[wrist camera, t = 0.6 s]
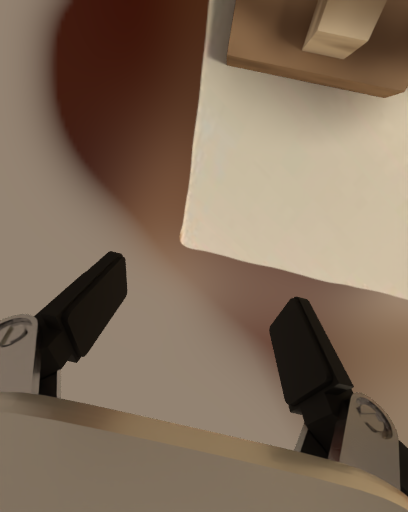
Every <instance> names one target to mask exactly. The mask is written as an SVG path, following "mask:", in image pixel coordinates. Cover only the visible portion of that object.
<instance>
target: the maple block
mask: <svg viewBox="0 0 408 512" xmlns="http://www.w3.org/2000/svg"><path fill="white" fill-rule="evenodd" d="M386 1H387V0H318V2H317V5H316V8H315V11H314V14H313V17H312V21H311V24H310V27H309V30H308V33H307V36H306V39H305V42H304V45H303V48H302V51H305V52H310V53H315V54H320V55H325V56H329V57H334V58H339V59H345V58H346V57H348V56H349V55H350V54H352V53H353V52H354V51H356V50H357V49H358V48H360V47H361V46H362V45H364V44H365V43H366V42H368V40H369V38H370V36H371V34H372V31H373V29H374V27H375V25H376V23H377V21H378V19H379V16H380V14H381V12H382V10H383V8H384V6H385V3H386Z"/></svg>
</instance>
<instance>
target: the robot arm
mask: <svg viewBox="0 0 408 512" xmlns="http://www.w3.org/2000/svg"><path fill="white" fill-rule="evenodd" d="M126 295H127V279H126V263H125V258H124V257H123V256H122V254H120V253H116V252H112V251H110V252H108V253H107V254H106V255H105V256H103V257H102V258H101V259H100V260H99V261H98V262H97V263H96V264H94V265H93V266H92V267H91V268H90V269H89V270H88V271H86V272H85V273H83V274H82V275H81V276H80V277H79V278H77V279H76V280H75V281H74V282H73V283H72V284H71V285H69V286H68V287H67V288H66V289H65V290H64V291H63V292H61V293H60V294H59V295H58V296H57V297H56V298H55V299H53V300H52V301H51V302H50V303H49V304H48V305H47V306H46V307H44V308H43V309H42V310H41V311H40V312H39V313H38V314H36V315H35V316H31V315H27V314H26V315H25V314H20V315H14V316H11V317H8V318H5V319H2V320H0V512H408V448H407V447H406V446H405V445H404V444H403V443H402V442H400V441H399V440H398V434H397V430H396V429H395V426H394V424H393V422H392V421H391V419H390V417H389V416H388V414H387V413H386V412H385V411H384V410H383V409H382V407H381V406H380V405H379V404H377V403H376V402H375V401H374V400H373V399H371V398H370V397H368V396H367V395H365V394H362V393H358V392H356V393H353V392H352V389H351V388H353V387H354V386H353V384H352V382H351V380H350V379H349V377H348V375H347V373H346V371H345V370H344V367H343V365H342V363H341V361H340V360H339V358H338V356H337V354H336V352H335V350H334V348H333V346H332V344H331V343H330V340H329V339H328V337H327V335H326V333H325V331H324V329H323V327H322V325H321V323H320V321H319V320H318V318H317V316H316V314H315V312H314V310H313V308H312V306H311V304H310V302H309V301H308V300H307V299H304V298H300V297H294V298H292V299H290V300H289V302H288V303H287V304H286V306H285V307H284V308H283V310H282V311H281V312H280V314H279V315H278V316H277V318H276V319H275V321H274V322H273V323H272V324H271V326H270V330H269V331H270V336H271V341H272V345H273V349H274V354H275V358H276V363H277V367H278V372H279V376H280V381H281V385H282V389H283V394H284V398H285V401H286V403H287V404H288V405H289V409H290V412H291V413H296V414H300V415H303V419H304V425H303V427H302V430H301V433H300V436H299V438H298V441H297V444H296V447H295V449H294V451H293V450H288V449H284V448H280V447H276V446H272V445H267V444H263V443H259V442H254V441H250V440H245V439H241V438H237V437H233V436H228V435H224V434H220V433H215V432H211V431H206V430H202V429H198V428H193V427H189V426H184V425H179V424H175V423H171V422H166V421H162V420H158V419H153V418H149V417H144V416H140V415H135V414H131V413H126V412H122V411H117V410H113V409H108V408H104V407H99V406H94V405H90V404H85V403H80V402H75V401H70V400H65V399H61V369H62V367H63V366H64V365H65V363H66V362H67V361H71V362H76V363H77V362H78V361H79V359H80V358H81V357H84V356H85V355H86V354H87V353H88V352H89V350H90V349H91V347H92V346H93V344H94V343H95V341H96V340H97V338H98V336H99V335H100V334H101V333H102V331H103V329H104V328H105V327H106V325H107V324H108V322H109V321H110V319H111V318H112V316H113V315H114V313H115V312H116V310H117V309H118V307H119V306H120V305H121V303H122V302H123V300H124V299H125V297H126Z"/></svg>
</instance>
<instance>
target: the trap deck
mask: <svg viewBox="0 0 408 512" xmlns="http://www.w3.org/2000/svg"><path fill="white" fill-rule="evenodd" d="M317 2H318V0H236V3H235V9H234V15H233V21H232V27H231V33H230V39H229V45H228V51H227V65H229V66H234V67H238V68H243V69H248V70H253V71H258V72H263V73H267V74H272V75H277V76H282V77H287V78H291V79H296V80H301V81H306V82H311V83H315V84H320V85H325V86H330V87H335V88H339V89H344V90H349V91H354V92H359V93H364V94H368V95H373V96H378V97H383V98H386V97H389V96H392V95H396V94H399V93H402V92H404V91H405V90H406V88H407V87H408V0H387V1H386V3H385V6H384V8H383V10H382V12H381V14H380V16H379V19H378V21H377V23H376V25H375V27H374V29H373V31H372V34H371V36H370V38H369V40H368V42H366V43H365V44H364V45H362V46H361V47H360V48H358V49H357V50H356V51H354V52H353V53H352V54H350V55H349V56H348V57H346V58H345V59H339V58H334V57H329V56H325V55H320V54H315V53H310V52H305V51H302V48H303V45H304V42H305V39H306V36H307V33H308V30H309V27H310V24H311V21H312V17H313V14H314V11H315V8H316V5H317Z"/></svg>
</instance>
